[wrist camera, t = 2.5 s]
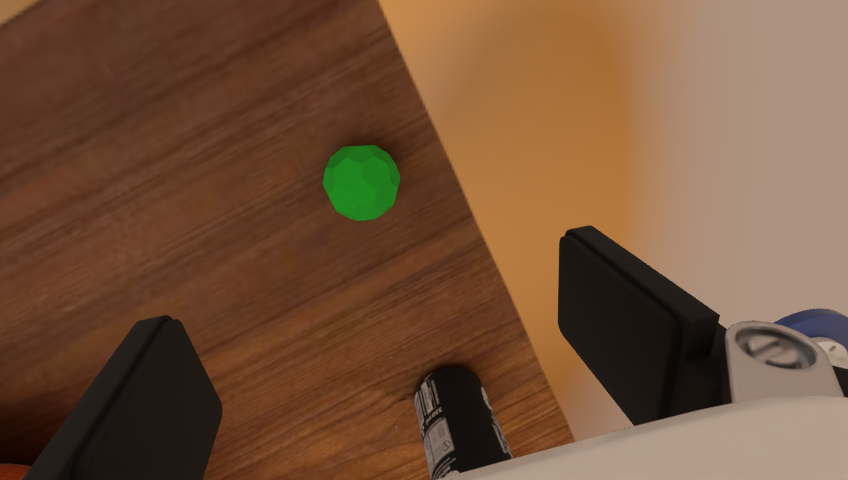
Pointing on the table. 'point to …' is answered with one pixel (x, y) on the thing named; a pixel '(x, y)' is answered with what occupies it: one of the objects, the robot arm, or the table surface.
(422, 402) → the beverage can
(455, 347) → the table surface
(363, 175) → the polyhedron
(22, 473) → the bowl
